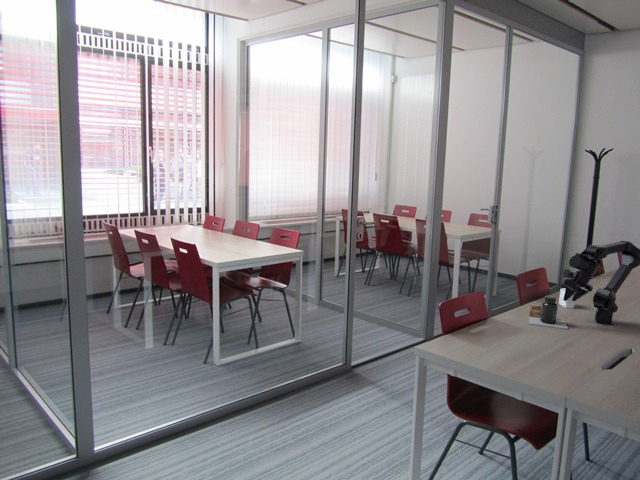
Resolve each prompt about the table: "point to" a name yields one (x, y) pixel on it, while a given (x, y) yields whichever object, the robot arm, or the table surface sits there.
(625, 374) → the table surface
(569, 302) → the medicine box
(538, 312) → the tan wooden bay
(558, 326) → the slate mat
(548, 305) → the supplement bottle
